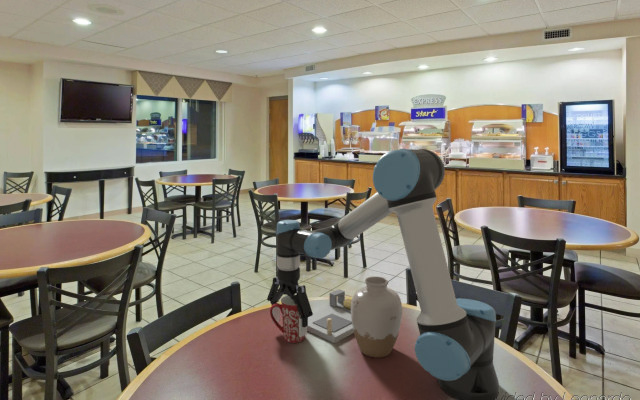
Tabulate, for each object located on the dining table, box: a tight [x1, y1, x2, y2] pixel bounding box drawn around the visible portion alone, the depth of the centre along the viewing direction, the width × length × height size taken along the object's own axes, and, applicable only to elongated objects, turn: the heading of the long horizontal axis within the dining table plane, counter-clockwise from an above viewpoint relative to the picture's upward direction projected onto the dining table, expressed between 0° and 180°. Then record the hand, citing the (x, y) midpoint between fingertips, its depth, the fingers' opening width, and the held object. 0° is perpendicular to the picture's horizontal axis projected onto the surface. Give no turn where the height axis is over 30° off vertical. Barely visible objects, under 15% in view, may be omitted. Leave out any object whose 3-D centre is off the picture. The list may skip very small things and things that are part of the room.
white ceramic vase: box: [351, 276, 403, 359], centre depth 119 cm, size 16×16×23 cm
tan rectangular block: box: [344, 298, 352, 310], centre depth 144 cm, size 7×3×3 cm, turn 46°
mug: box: [269, 295, 306, 344], centre depth 127 cm, size 13×9×14 cm
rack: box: [307, 289, 354, 344], centre depth 138 cm, size 19×23×7 cm
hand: (289, 328), depth 128 cm, fingers open, 13 cm apart
